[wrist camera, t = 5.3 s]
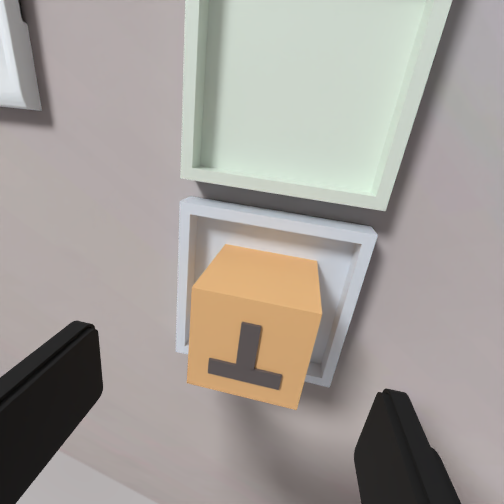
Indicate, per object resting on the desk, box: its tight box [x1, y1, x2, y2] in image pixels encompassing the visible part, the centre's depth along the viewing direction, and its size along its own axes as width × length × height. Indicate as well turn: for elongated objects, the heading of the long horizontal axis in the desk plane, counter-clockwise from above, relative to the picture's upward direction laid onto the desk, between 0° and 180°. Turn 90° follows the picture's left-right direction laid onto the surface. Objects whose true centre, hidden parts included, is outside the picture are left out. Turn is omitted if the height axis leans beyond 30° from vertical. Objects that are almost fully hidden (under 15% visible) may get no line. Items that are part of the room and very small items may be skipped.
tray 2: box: [176, 196, 378, 388], centre depth 14 cm, size 8×8×1 cm
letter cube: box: [187, 244, 322, 410], centre depth 12 cm, size 4×5×5 cm
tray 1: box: [180, 0, 452, 211], centre depth 11 cm, size 8×8×1 cm
